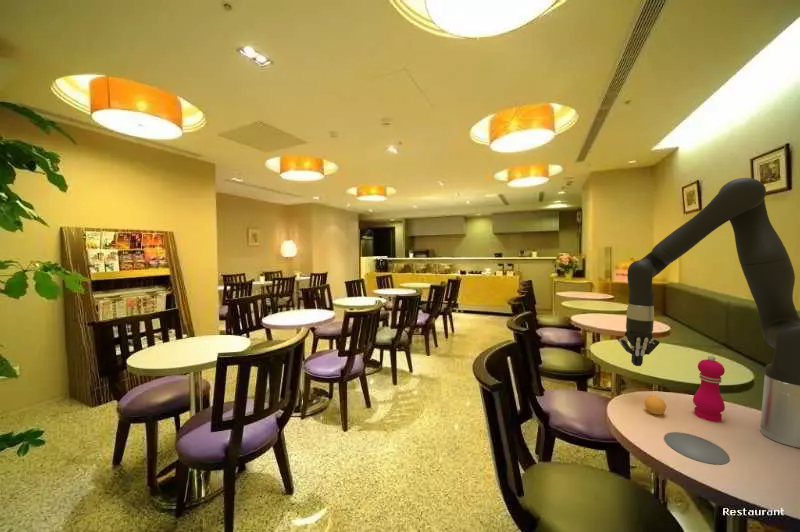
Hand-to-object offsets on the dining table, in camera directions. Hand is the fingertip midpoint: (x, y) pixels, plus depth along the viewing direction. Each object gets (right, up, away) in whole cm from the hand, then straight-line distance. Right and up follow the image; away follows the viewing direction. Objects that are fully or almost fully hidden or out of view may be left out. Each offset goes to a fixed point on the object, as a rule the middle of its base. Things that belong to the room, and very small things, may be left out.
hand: (636, 365), depth 111 cm
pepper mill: (+14, -13, -11) cm, 22 cm away
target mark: (-3, -15, -25) cm, 29 cm away
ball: (-1, -10, -9) cm, 13 cm away
